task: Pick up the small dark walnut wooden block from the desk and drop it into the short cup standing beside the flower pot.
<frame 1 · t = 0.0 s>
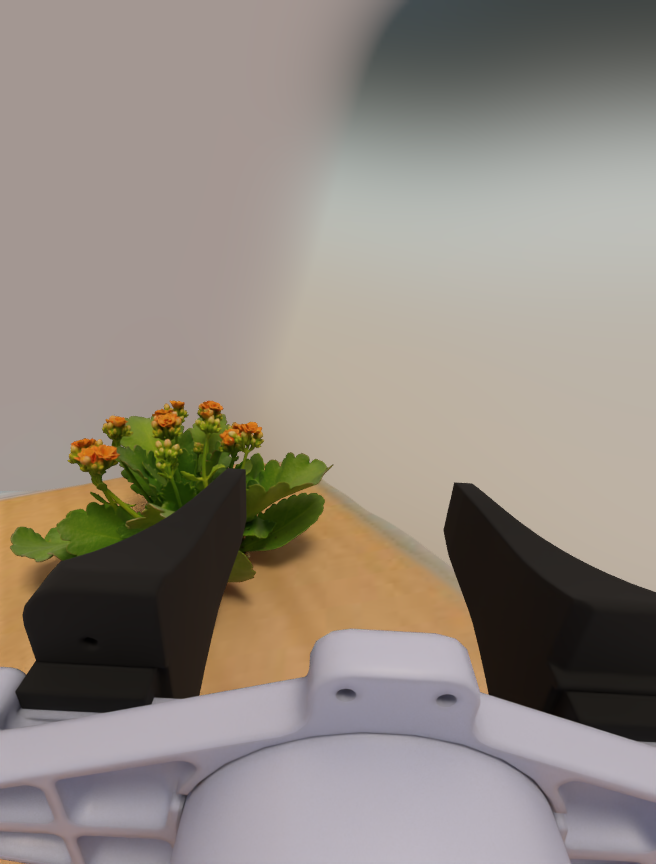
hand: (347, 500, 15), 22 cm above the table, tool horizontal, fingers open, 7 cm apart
potted flower: (205, 561, 45), on the table
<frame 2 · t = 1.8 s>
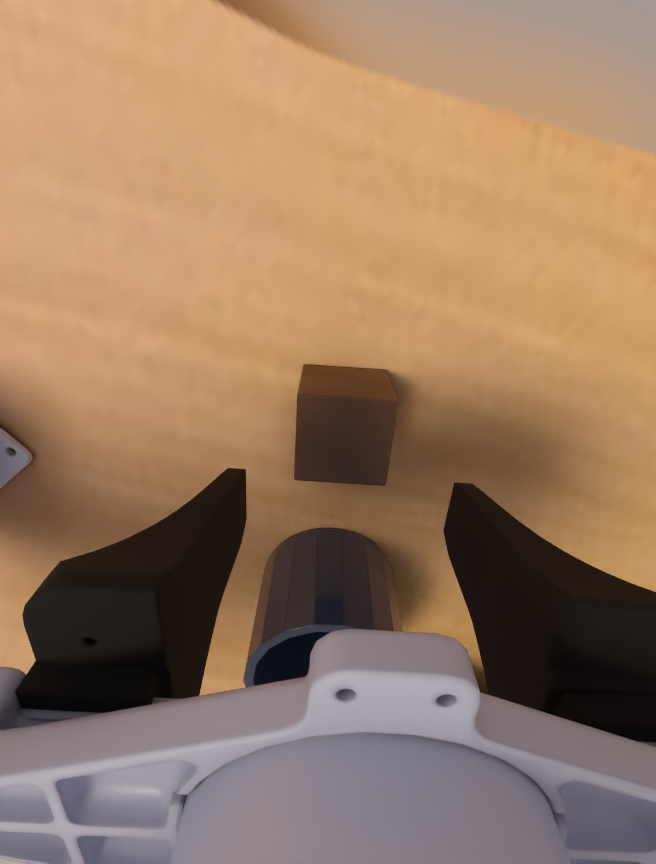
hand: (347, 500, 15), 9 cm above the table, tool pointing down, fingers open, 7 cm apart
block: (342, 405, 23), on the table
cup: (328, 579, 28), on the table
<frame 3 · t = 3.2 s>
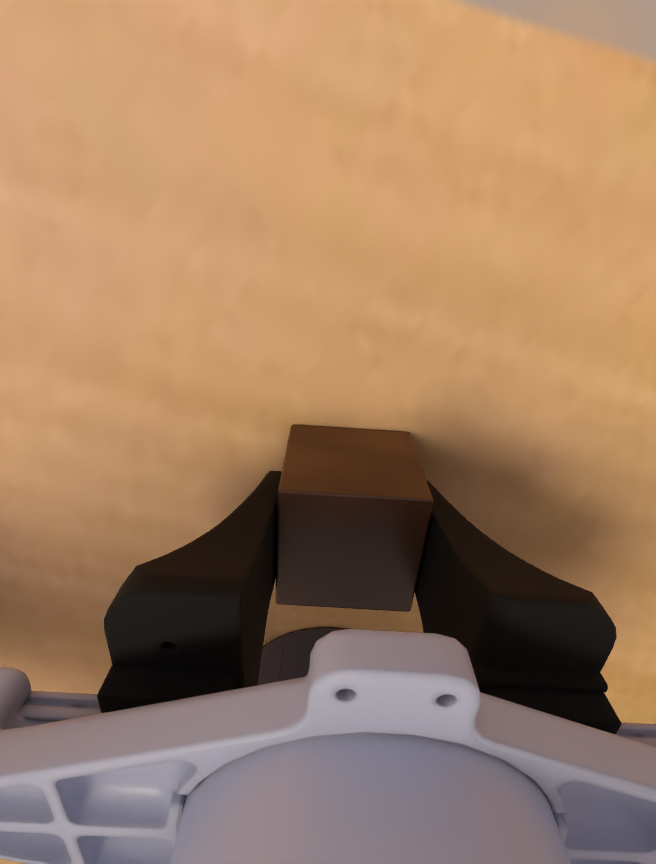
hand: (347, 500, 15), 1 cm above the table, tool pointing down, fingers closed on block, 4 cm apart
block: (345, 478, 16), on the table, touching gripper
cup: (327, 685, 22), on the table
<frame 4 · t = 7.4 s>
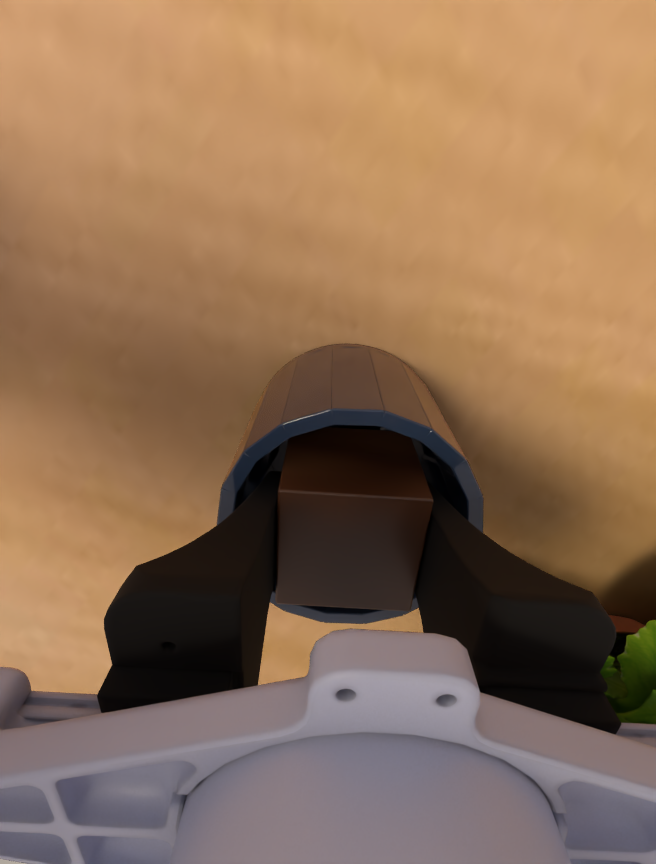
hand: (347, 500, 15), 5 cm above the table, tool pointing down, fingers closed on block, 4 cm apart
block: (345, 478, 16), point 4 cm above the table, touching gripper
cup: (345, 432, 20), on the table
potted flower: (571, 673, 27), on the table
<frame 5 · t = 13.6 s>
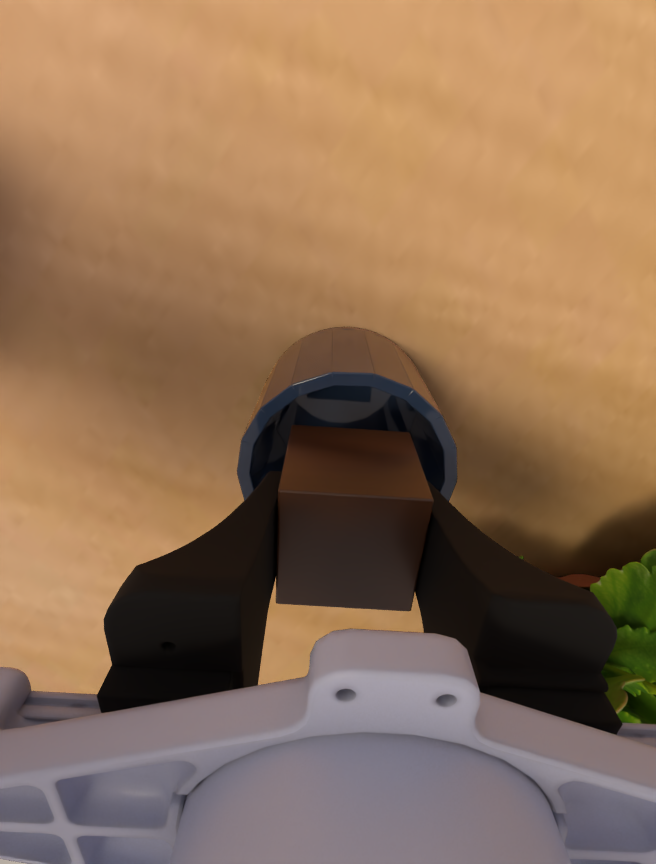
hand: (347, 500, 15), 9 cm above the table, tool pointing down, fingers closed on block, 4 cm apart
block: (345, 478, 16), point 7 cm above the table, touching gripper
cup: (343, 405, 23), on the table
potted flower: (549, 630, 30), on the table
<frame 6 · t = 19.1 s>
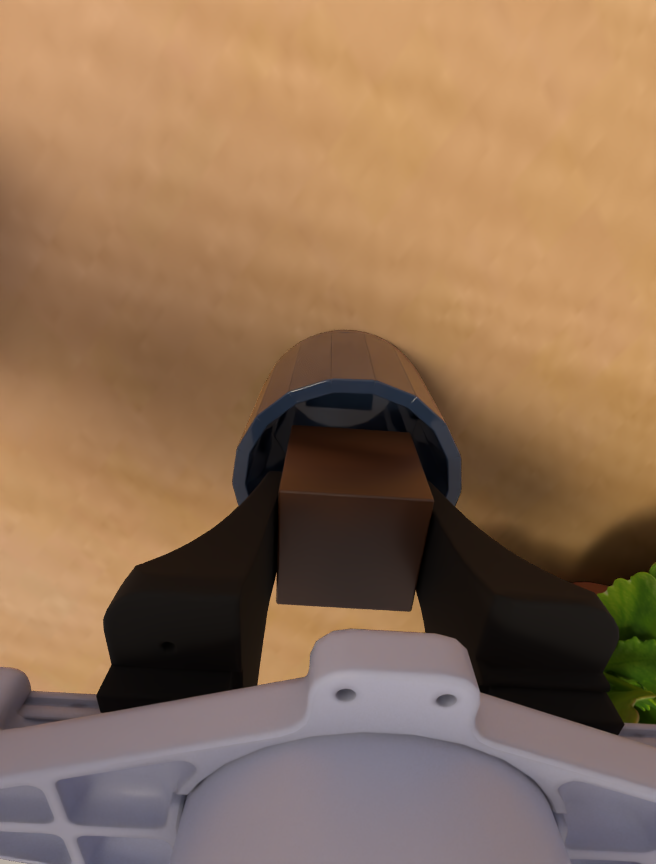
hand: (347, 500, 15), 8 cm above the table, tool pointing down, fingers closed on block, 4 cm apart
block: (346, 478, 16), point 6 cm above the table, touching gripper
cup: (343, 410, 22), on the table
potted flower: (552, 638, 29), on the table
when the fingers open (9 cm above the table, at t = 23.9 s): block drops 7 cm, resting on cup.
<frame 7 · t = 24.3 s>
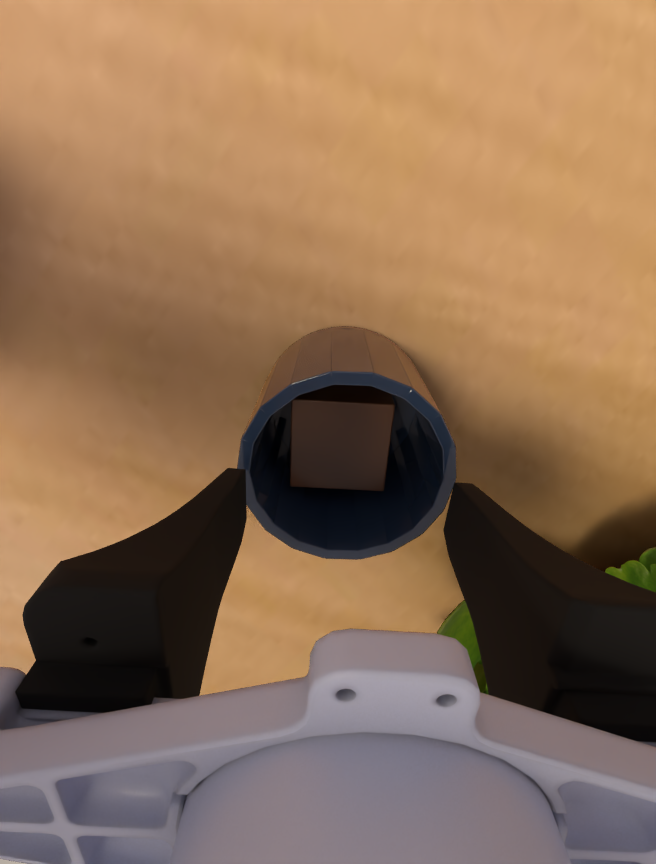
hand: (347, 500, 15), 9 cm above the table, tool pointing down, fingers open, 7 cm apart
block: (339, 409, 22), point 1 cm above the table, touching cup
cup: (343, 405, 23), on the table, touching block
potted flower: (548, 628, 30), on the table
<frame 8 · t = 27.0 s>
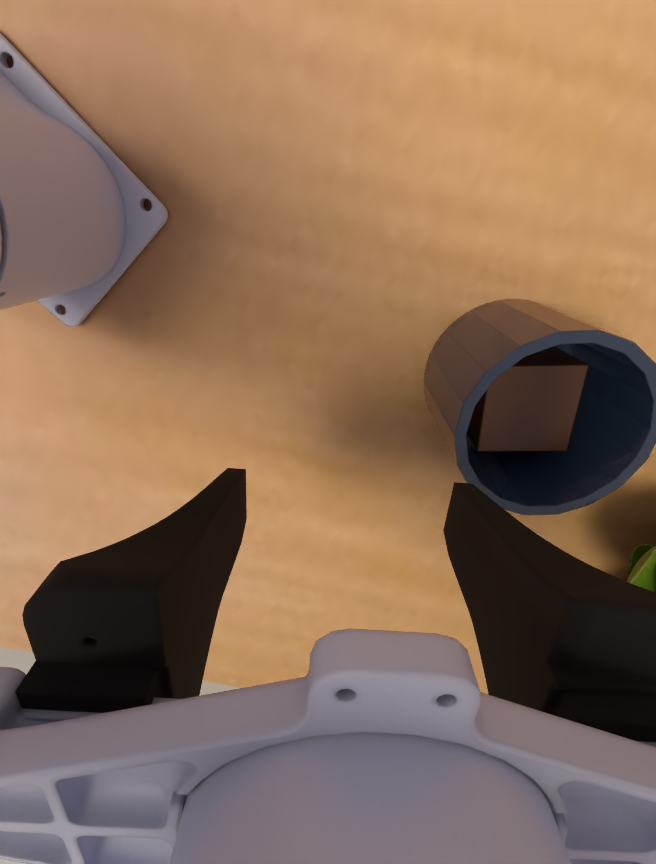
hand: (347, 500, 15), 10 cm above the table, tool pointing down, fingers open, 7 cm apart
block: (498, 379, 23), point 1 cm above the table, touching cup
cup: (499, 376, 24), on the table, touching block
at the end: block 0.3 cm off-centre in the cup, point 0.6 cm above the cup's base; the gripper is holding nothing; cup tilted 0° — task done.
